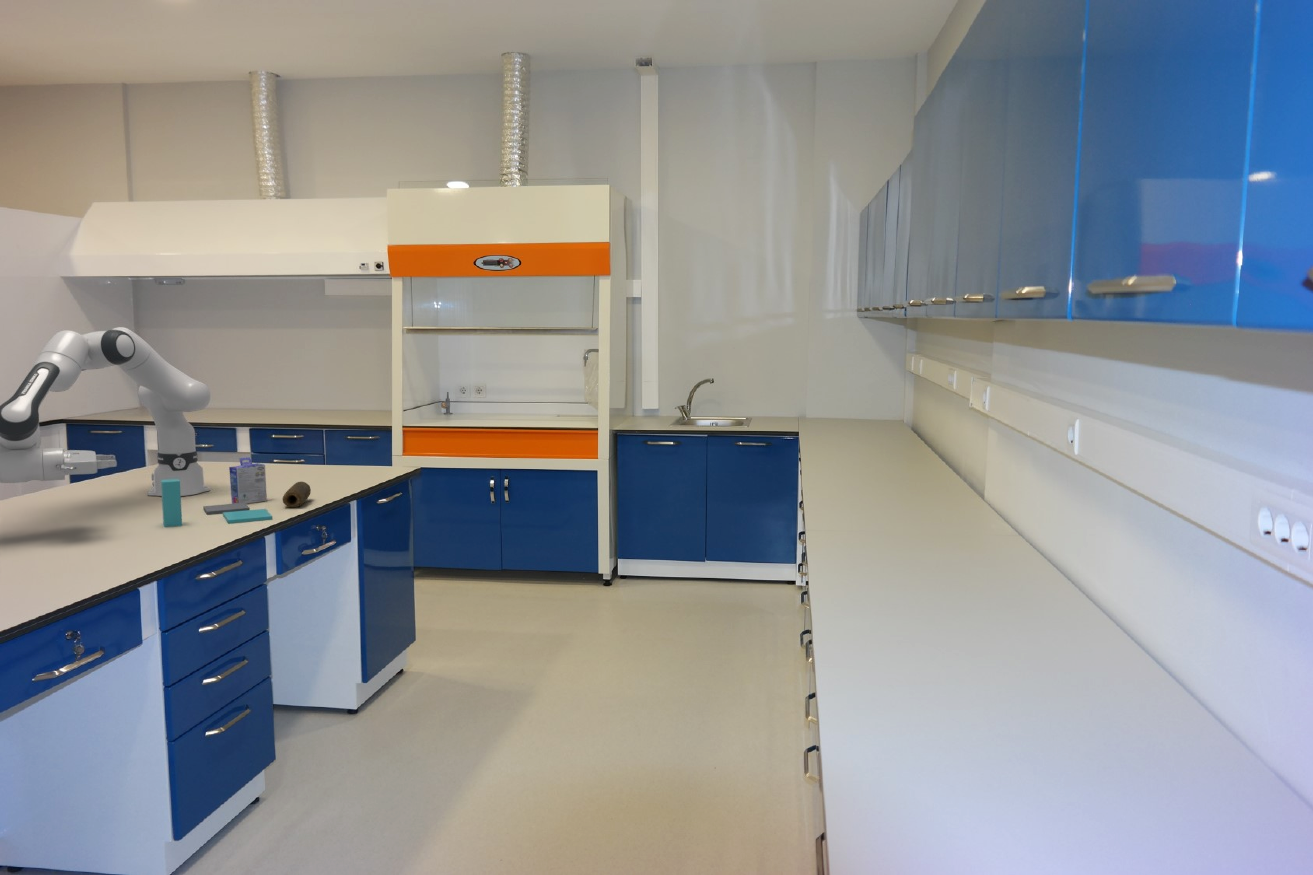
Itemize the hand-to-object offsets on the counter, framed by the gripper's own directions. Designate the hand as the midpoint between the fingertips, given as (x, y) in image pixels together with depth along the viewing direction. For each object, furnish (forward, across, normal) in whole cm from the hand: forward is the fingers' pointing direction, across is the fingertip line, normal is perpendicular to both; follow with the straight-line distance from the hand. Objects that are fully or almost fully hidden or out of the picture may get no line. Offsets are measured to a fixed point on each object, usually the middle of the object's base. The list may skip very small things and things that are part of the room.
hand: (115, 460), depth 252 cm
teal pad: (+33, 0, +20) cm, 39 cm away
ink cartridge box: (+37, +24, +20) cm, 49 cm away
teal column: (+13, 0, +20) cm, 24 cm away
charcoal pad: (+29, +14, +20) cm, 38 cm away
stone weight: (+50, +14, +20) cm, 56 cm away
